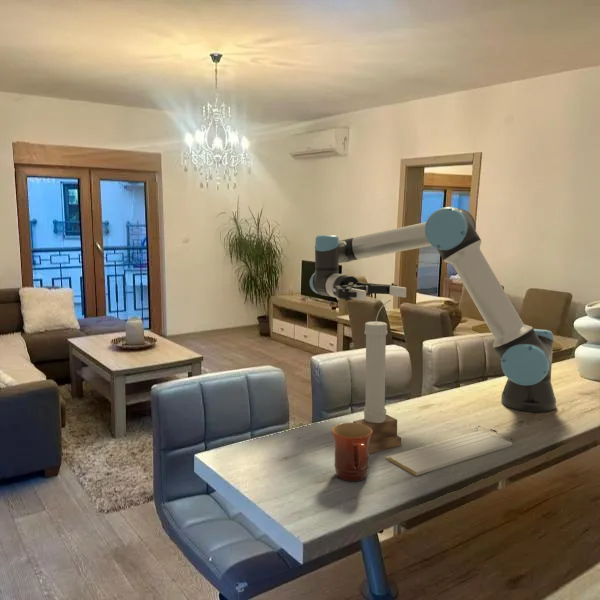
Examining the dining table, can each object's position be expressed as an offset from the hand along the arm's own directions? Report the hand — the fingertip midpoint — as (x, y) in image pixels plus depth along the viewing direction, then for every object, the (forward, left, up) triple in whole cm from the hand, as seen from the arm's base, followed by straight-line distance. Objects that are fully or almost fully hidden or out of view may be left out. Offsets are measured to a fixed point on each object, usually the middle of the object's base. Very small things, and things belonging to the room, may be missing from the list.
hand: (385, 294), depth 147 cm
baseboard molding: (0, +26, -36) cm, 44 cm away
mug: (+28, +27, -35) cm, 52 cm away
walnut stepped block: (+13, +14, -35) cm, 40 cm away
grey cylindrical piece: (+13, +14, -29) cm, 35 cm away
